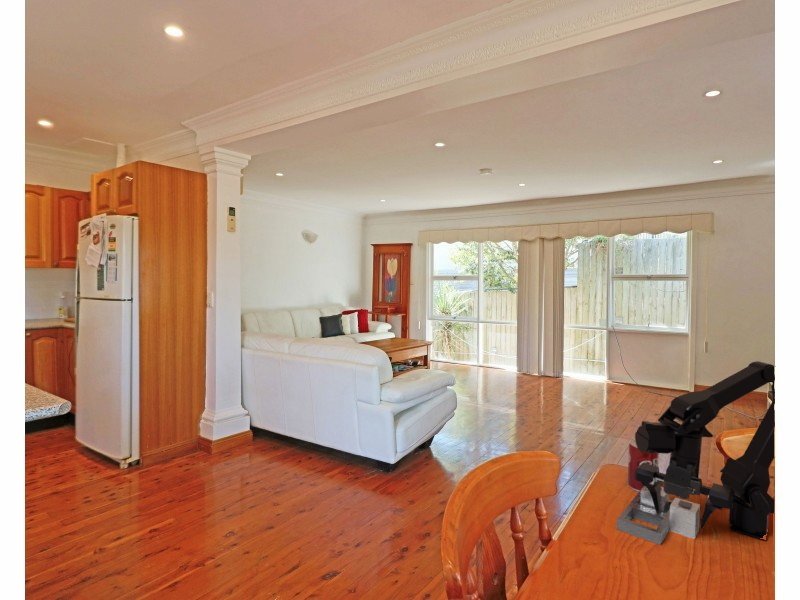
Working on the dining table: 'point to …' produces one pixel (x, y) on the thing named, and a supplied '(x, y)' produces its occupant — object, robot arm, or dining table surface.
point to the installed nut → (648, 501)
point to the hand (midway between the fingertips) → (679, 520)
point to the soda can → (638, 464)
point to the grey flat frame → (647, 516)
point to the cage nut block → (684, 518)
